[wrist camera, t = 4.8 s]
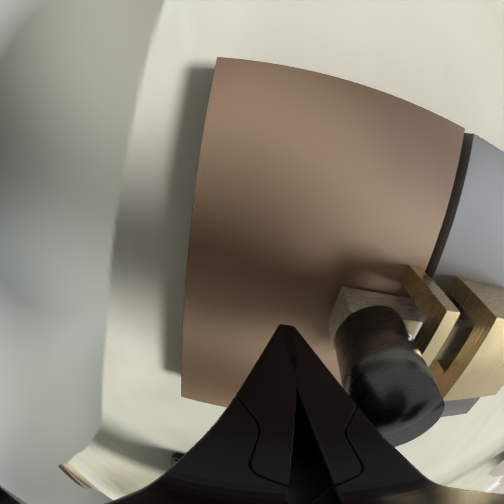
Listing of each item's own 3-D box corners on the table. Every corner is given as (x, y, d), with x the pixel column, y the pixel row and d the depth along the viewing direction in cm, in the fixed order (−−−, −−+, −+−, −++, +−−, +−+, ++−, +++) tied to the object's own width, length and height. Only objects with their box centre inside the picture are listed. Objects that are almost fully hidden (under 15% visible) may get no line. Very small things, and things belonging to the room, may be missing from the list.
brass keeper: (471, 354, 11) (495, 394, 8) (370, 348, 11) (388, 403, 8) (507, 288, 9) (542, 323, 6) (408, 264, 9) (447, 310, 6)
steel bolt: (469, 345, 10) (515, 421, 5) (319, 330, 10) (335, 451, 5) (492, 304, 9) (552, 376, 4) (339, 275, 9) (380, 394, 5)
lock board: (459, 398, 14) (466, 413, 13) (188, 377, 14) (181, 396, 13) (557, 201, 8) (573, 209, 7) (225, 67, 9) (217, 57, 7)
